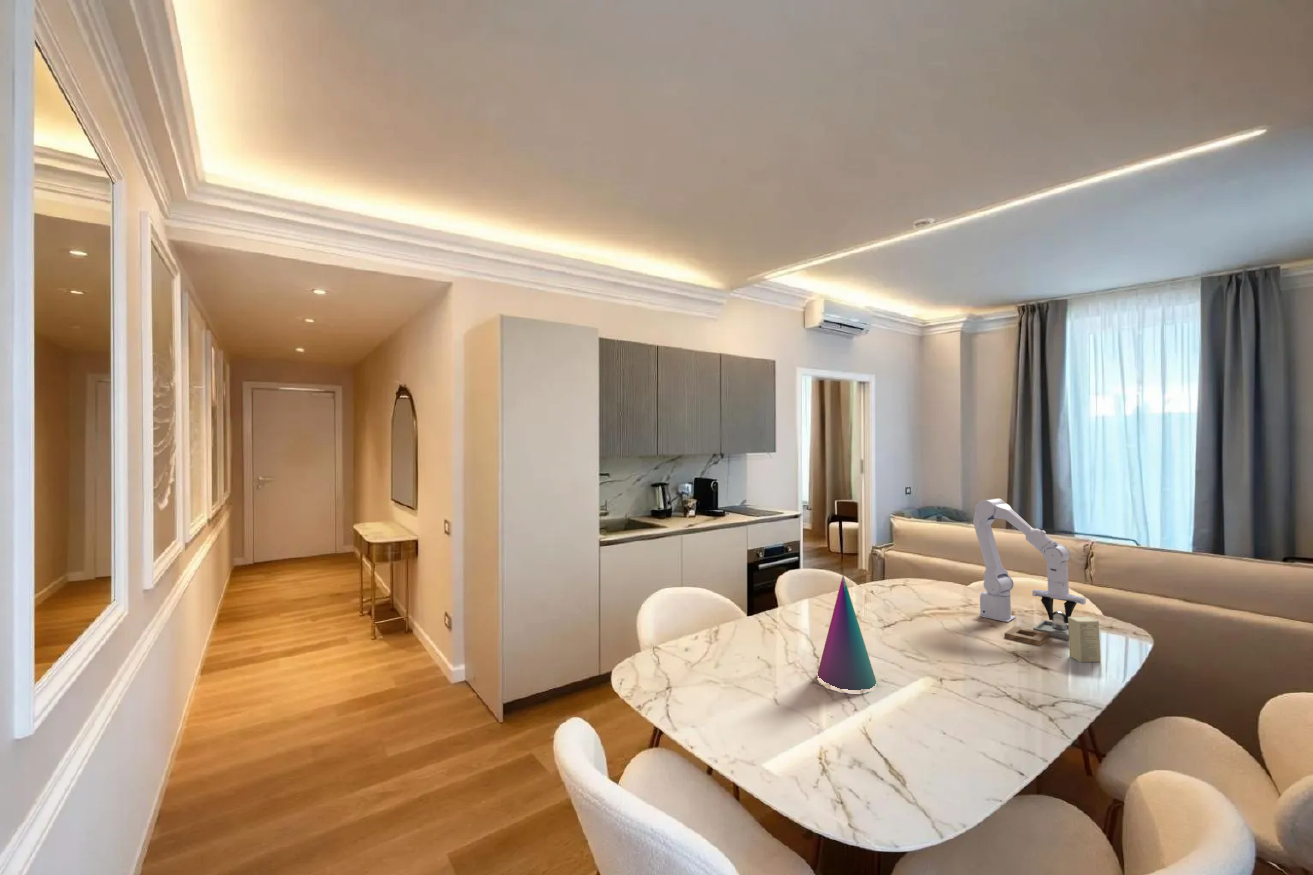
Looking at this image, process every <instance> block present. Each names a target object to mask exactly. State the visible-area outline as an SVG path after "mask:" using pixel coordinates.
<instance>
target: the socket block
mask: <svg viewBox="0 0 1313 875" xmlns="http://www.w3.org/2000/svg"><path fill="white" fill-rule="evenodd" d="M1003 634H1004V638H1005V637H1006V638H1005V639H1009V638H1010V639H1009V640H1014V641H1018V642H1023V643H1026V642H1027V644H1031V645H1035V646H1036V645H1037V646H1042V645H1043V644H1045V642H1047V641H1048V640H1049V639H1050V636H1049V633H1045V632H1040V631H1036V630H1033V629H1030V628H1025V627H1021V626H1016V625H1014V626H1012V627H1011V628H1009V629H1008V630H1007V631H1005V632H1004V633H1003Z"/></svg>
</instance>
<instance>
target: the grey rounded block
mask: <svg viewBox="0 0 1313 875" xmlns="http://www.w3.org/2000/svg"><path fill="white" fill-rule="evenodd" d="M1051 621H1052V628H1053V629H1055V630H1059V631H1067V625H1068V623H1066V622H1065V613H1064V612H1062V611H1060V610H1056V611H1053V614H1052V620H1051Z"/></svg>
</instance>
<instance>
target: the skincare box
mask: <svg viewBox="0 0 1313 875" xmlns="http://www.w3.org/2000/svg"><path fill="white" fill-rule="evenodd" d="M1099 624H1100V622H1099V620H1096V619H1095V618H1092V617H1090V616H1071V617H1068V623H1067V625H1068V628H1069V640H1068V644H1069V645H1068V646H1069V647H1068V648H1069V657H1070V658H1072V659H1074V660H1076V661H1077V662H1079V663H1080V662H1082V663H1084V662H1085V663H1089V662H1090V663H1092V662H1093V663H1094V662H1095V663H1097V662H1101V646H1100V645H1101V642H1100V640H1101V639H1100V625H1099Z"/></svg>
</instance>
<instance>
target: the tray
mask: <svg viewBox="0 0 1313 875" xmlns="http://www.w3.org/2000/svg"><path fill="white" fill-rule="evenodd" d="M1032 630H1036V631H1040V632H1045V633H1049V637H1051V638H1057V639H1060V640H1066V641H1069V628H1068V624H1067V631H1059V630H1055V629H1053V628H1052V620H1045V619H1044V620H1042V621H1041V622H1039V623H1038V624H1037V625H1035V626H1034V627H1033V628H1032Z"/></svg>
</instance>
